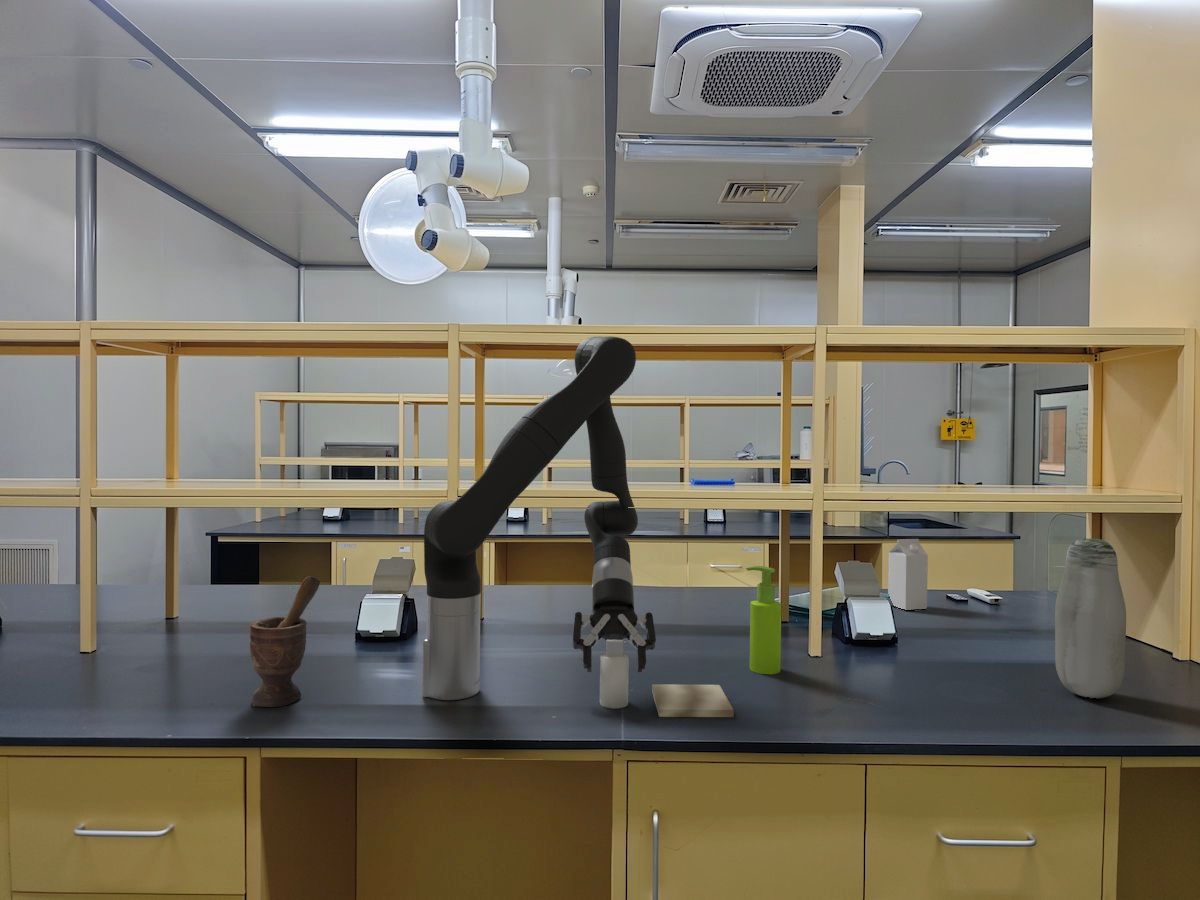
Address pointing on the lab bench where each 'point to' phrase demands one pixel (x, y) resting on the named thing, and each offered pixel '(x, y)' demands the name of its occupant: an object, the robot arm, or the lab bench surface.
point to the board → (691, 701)
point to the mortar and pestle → (281, 650)
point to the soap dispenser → (765, 626)
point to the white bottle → (614, 675)
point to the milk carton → (908, 575)
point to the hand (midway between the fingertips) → (614, 670)
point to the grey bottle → (1090, 621)
